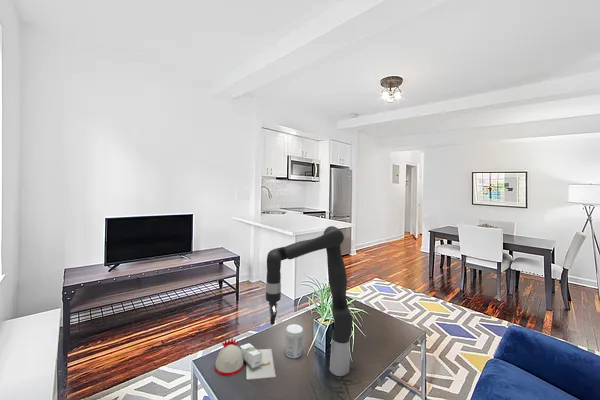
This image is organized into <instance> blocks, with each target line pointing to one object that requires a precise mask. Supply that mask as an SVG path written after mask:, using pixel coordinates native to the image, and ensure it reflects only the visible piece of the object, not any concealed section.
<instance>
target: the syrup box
mask: <svg viewBox="0 0 600 400" xmlns="http://www.w3.org/2000/svg"><path fill="white" fill-rule="evenodd" d="M239 348H240V350H241V353H242V357H243V362H245V363H247V364H248V365H249V366H250V367H251V368H254V367H257V366H259V365H262V353H261V352H260V351H258V350H259V349H257V348H256V347H255V346H253V345H252V344H251V343H245V344H242V345H240V346H239Z"/></svg>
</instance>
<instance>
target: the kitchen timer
mask: <svg viewBox="0 0 600 400" xmlns="http://www.w3.org/2000/svg"><path fill="white" fill-rule="evenodd" d="M238 343H239V340H236V338H235V339H233V337H231V339H230V338H228V341H227V339H226V338H225V339H224V341H222V342H221V344H222V348H221V349H220V351H219V353H218V354H217V357H216V361H215V365H214V366H215V367H214V369H215V371H216V373H217V374H219V375H220V376H225V377H228V376H229V377H230V376H234V375H236V374H238V373H240V372H241V371H242V369H243V368H244V360H243V357H242V353H241V350H240V346H238Z"/></svg>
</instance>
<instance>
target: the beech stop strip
mask: <svg viewBox="0 0 600 400" xmlns="http://www.w3.org/2000/svg"><path fill="white" fill-rule="evenodd" d="M266 365H270V361H264V362H262V365H259V366H266Z"/></svg>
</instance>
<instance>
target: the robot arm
mask: <svg viewBox="0 0 600 400" xmlns="http://www.w3.org/2000/svg"><path fill="white" fill-rule="evenodd" d="M344 240H345V236H344V233H343V232H342V231H341V229H340V228H338V227H336V226H334V225H331V226H328V227H326V228H325V230H324V232H323V234H322V235H320V236H317V237H315V238H310V239H305V240H299V241H296V242H293V243H291V244H288V245H286V246H281V247H280V246H279V247H277V248H273V249H272V250H270V251H269V252H268V253H267V254H266V255H267V256H266V283H265V300H266V301H267V302H268V308H269V309H268V310H269V316H270V318H269V319H270V320H269V321H270V322H269V323H270V325H275V324H276V319H277V314H278V311H277V309H278V303H277V302H279V301H280V300H281V297H282V296H281V295H282V294H281V293H282V285H281V284H282V282H281V279H282V276H281V275H282V273H281V269H282V268H281V267H282V261H285V260H293V259H294V260H295V259H296V258H298V257H302V256H304V255H307V254H310V253H313V252H316V251H320V250H324V249H325V250H326V257H327V258H326V261H327V275H328V284H329V289H330V292H331V298H332V299H331V300H332V318H333V330H332V332H331V343H330V345H331V346H330V358H329V371H330V373H331V374H332V375H335V376H336V377H337V376H338V377H343V376H346V375H347V374H349V373H350V363H351V354H350V341H351V336H352V333H353V332H352V330H353V316H352V313H351V311H350V309H349V305H348V300H347V288H348V277H347V270H346V266H345V262H344V258H343V255H342V252H341V251H342V250H341V245H342V244H343V242H344Z"/></svg>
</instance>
